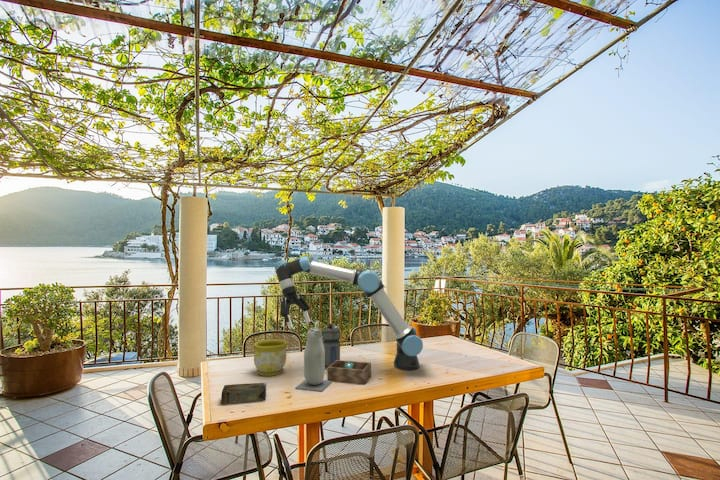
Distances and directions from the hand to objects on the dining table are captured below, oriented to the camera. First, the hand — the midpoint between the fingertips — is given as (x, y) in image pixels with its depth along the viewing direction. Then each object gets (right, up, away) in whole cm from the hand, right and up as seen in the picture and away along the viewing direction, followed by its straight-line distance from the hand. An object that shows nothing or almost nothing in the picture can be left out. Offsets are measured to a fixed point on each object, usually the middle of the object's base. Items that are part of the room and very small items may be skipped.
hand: (299, 325), depth 187 cm
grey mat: (+9, -28, -11) cm, 31 cm away
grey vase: (+9, -27, -11) cm, 31 cm away
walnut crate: (+27, -28, -1) cm, 39 cm away
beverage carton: (-20, -27, -29) cm, 45 cm away
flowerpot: (-18, -29, +9) cm, 35 cm away
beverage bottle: (+15, -30, +20) cm, 39 cm away
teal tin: (+26, -27, +1) cm, 38 cm away
